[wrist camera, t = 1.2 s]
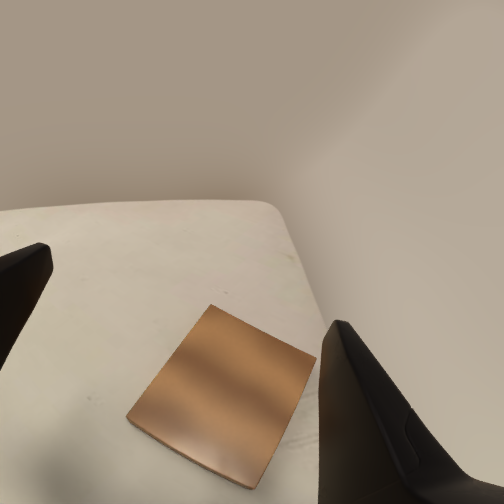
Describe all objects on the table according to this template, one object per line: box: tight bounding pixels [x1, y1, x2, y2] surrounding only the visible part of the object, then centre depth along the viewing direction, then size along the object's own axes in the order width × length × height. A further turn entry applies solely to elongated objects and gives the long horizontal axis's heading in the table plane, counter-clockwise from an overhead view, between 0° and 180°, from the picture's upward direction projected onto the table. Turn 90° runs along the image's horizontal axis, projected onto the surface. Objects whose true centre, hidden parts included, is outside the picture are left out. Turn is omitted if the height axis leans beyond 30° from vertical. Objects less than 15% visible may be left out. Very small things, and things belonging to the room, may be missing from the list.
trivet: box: [126, 304, 316, 490], centre depth 21 cm, size 12×10×2 cm
